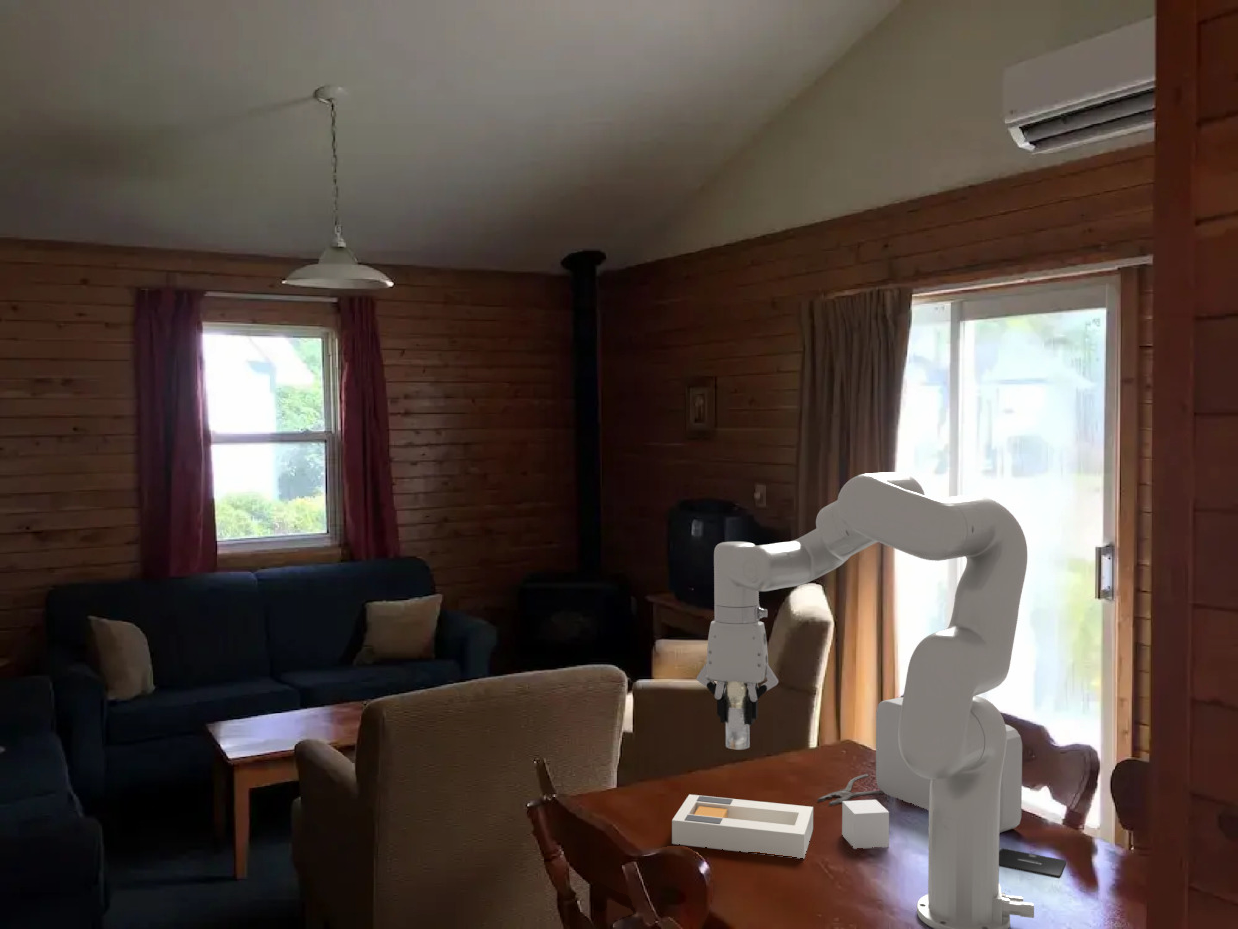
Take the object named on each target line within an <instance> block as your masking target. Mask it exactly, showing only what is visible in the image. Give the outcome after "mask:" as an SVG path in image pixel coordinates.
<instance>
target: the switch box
mask: <svg viewBox="0 0 1238 929" xmlns="http://www.w3.org/2000/svg"><path fill="white" fill-rule="evenodd" d="M699 806H705V807H714V808H724V809H728V813H727V818H720V817H711V816H702V815H694V814H695V812H696V811H697V809H698V807H699ZM813 830H814V806H809V805H808V806H807V805H806V806H805V805H797V804H789V803H788V804H787V803H777V802H769V801H758V800H748V799H739V798H738V799H736V798H729V797H720V796H719V797H718V796H717V797H716V796H710V795H709V796H708V795H701V794H700V795H698V794H691V793H690V794H688V796H686V799H685V800H684V801H683V803H682V805H681V806H680V808H679V809H678V811H677V812H676V813H675V815H674V817H673V818H672V820H671V844H673V845H679V844H680V845H679V846H688V847H697V848H705V847H707V849H715V850H722V849H723V850H724V851H732V852H739V851H741V852H742V853H748V852H760V853H767V854H775V855H783V856H792V857H797V858H796V859H800V858H803V859H802V860H805V857H806V855H805V854H807V852H808V848H809V844H810V842H809V841H811V838H812V835H813ZM806 851H807V852H806ZM783 856H782V857H783ZM792 857H791V858H792Z"/></svg>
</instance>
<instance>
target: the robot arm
mask: <svg viewBox="0 0 1238 929" xmlns="http://www.w3.org/2000/svg"><path fill="white" fill-rule="evenodd" d="M816 515H817V516H816V519H815V526H816V528H815V529H813V530H811V531H809V532H808V533H806V534H804V535H802V536H800V537H799V538H796V539H793V540H791V541H783V542H773V543H769V544H768V543H767V544H759V545H756V544H755V543H752V542H748V541H722V542H720V543H718V544H717V545H715V547H714V551H713V567H714V568H713V570H714V571H713V573H714V574H713V575H714V576H713V577H714V578H713V580H714V581H713V582H714V583H713V584H714V586H713V588H714V592H713V594H714V595H713V596H714V597H713V598H714V606H713V607H714V619H713V620H712V621H711V622H710V624H709V625H710V626H709V630H708V631H709V632H708V638H707V650H706V663H705V664H704V665H703V667H702V668H701V669H700V671H699V673H698V674H697V676H696V681H698V682H699V683H701V685H703V686H704V687H706V689H708V690H709V692H710V693H711V694H712V695H713V696H714V698H715V699H716V716H717V717H719V719H720V721H719V722H720V724H724V723H726V698H725V682H731V681H737V682H741V683H747V685H748V690H749V701H748V702H747V724H748V725H749V726H752V725H753V724H754V723H755V720H758V714H759V713H758V712H759V709H758V706H759V705H758V704H759V703H758V701H759V700H758V699H759V698H761V697H762V696H763V695H764V694H765V693H766V692H767V691H769V690H771V689H773V688H774V687H776V686H777V685H778V683H779V678H777V676H776V674H775V673H774V671H773V670H772V669H771V667H770V665H769V655H768V654H769V652H768V651H769V650H768V641H767V633H766V629H765V623H764V622H762V621H760V619H762V618H768V609H767V608H763V607H761V606H760V601H759V600H760V598H759V597H760V596H759V595H760V594H759V593H760V592H770V591H774V590H779V589H785V588H792V587H799V586H802V585H806V584H808V583H810V582H811V581H812V582H813V581H814V580H816V579H819V578H820V577H823V576H824V575H826V574H828V573H830V572H832V571H834V570H836V569H837V568H839V567H840V566H842V565H843V564H845V562H847V560H849V559H850V558H851V556H853V555H855V554H857V553H860V552H861V551H863V550H865V549H867V548H868V547H870V546H872V545H875V544H876V543H880V544H882V545H884V546H888V547H890V548H893V549H895V550H898V551H900V552H903V553H905V554H908V555H910V556H913V557H917V558H919V559H923V560H926V561H935V562H937V561H947V560H952V559H957V558H963V557H965V558H966V565H965V568H964V570H963V572H962V574H961V576H960V579H959V581H958V583H957V586H956V590H955V595H954V603H953V608H952V613H951V614H952V615H951V618H950V621H949V624H948V627H947V628H946V629H942V630H938V631H936V632H933V633H931V634H929V635H927V636H926V637H925V638H923V639H922V640H920V642H919V643H918V644H917V645H916V647H915V648H914V650H913V653H912V655H911V657H910V659H909V663H908V666H907V673H906V678H905V685H904V691H903V696H902V697H903V702H902V709H901V715H900V721H899V730H898V742H899V748H900V752H901V755H902V757H903V759H904V761H905V763H906V764H907V766H908V767H909V768H910V769H911V770H912V771H913V772H914V773H915V774H917V775H919V776H921V777H923V778H926V779H931V782H930V792H929V810H928V858H927V859H928V861H927V862H928V869H927V872H928V873H927V874H928V879H927V880H928V881H927V883H928V886H927V894H925V895H924V896H922V897H920V898H919V900H917V903H916V913H917V916H918V918H919V919H920V920H921V921H922V922H923V923H924V924H926V925H927V926H928V927H930V928H931V929H1009V928H1010V925H1011V915H1012V916H1018V917H1019V916H1020V917H1021V918H1030V919H1034V918H1035V906H1034V903H1033V902H1027V901H1026V902H1024V896H1020V895H1006V892H1002V889H1001V883H1000V882H999V880H1000V866H999V851H1000V833H999V819H1000V788H1001V776H1002V769H1003V763H1004V758H1005V752H1006V744H1007V732H1006V726H1005V724H1006V723H1005V720H1004V717H1003V716H1002V714H1001V712H1000V710H999V709H998V708H997V707H996V706H995V705H994V704H993V703H992V702H991V701H990V700H988V699H986V698H984V697H982V696H979V695H981V694H984V693H987V692H989V691H992V690H994V689H995V688H998V687H999V686H1000V685H1002V684H1003V682H1004V681H1005V680H1006V678H1007V677H1008V674H1009V669H1010V666H1011V660H1012V653H1013V648H1014V643H1015V637H1016V636H1015V635H1016V631H1017V624H1018V619H1019V618H1018V617H1019V610H1020V605H1021V598H1022V593H1023V588H1024V583H1025V578H1026V574H1027V573H1026V572H1027V565H1028V546H1027V540H1026V537H1025V533H1024V531H1023V529H1022V526H1021V525H1020V523H1019V521H1018V520H1017V519H1016V517H1015V516H1014V515H1013V513H1011V512H1010V511H1009V509H1007V508H1006V507H1005V506H1004V505H1002V504H1000V503H999V502H997V501H996V500H993V499H992V498H987V497H985V496H984V497H983V496H980V495H970V494H969V495H968V494H967V495H966V494H965V495H955V496H949V497H948V496H947V497H929V496H927V495H925V492H924V490H923V488H922V486H921V484H920V483H919V482H918V480H916V479H915V478H913V477H912V476H910V475H908V474H906V473H903V472H898V471H897V472H895V471H888V472H873V473H862V474H858V475H856V476H854V477H852V478H851V479H849V480H848V481H847V482H845V484H843V486H842V488H841V489H840V492H839V493H838V496H837V500H835V501H834V502H832V503H829V504H828V505H826V506H824V507H822V508H821V509H820V510H819V512H818V513H817V514H816ZM765 678H766V680H767V681H765ZM763 681H765V682H764V683H762V682H763ZM761 683H762V684H761ZM758 684H761V685H760V686H759V685H758Z"/></svg>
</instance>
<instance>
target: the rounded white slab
mask: <svg viewBox="0 0 1238 929" xmlns="http://www.w3.org/2000/svg"><path fill="white" fill-rule="evenodd" d="M902 702H903V696H902V697H896V698H891V699H886V700H882V701H880V703H878V704H877V709H876V713H875V714H876V715H875V720H876V721H875V722H876V723H875V726H876V728H875V780H876V785H877V786H878V788H879V791H883V792H884V793H885V795H886V794H887V796H888V797H889V796H890V797H893V798H894V797H895V799H897V798H898V799H897V800H900V801H902V800H903V801H902V802H904V803H905V802H906V803H908V804H910V803H912V804H911V805H913V804H914V805H913V806H916V805H917V806H916V807H918V806H919V808H921V809H923V808H924V809H923V810H926V809H928V810H927V811H929V792H930V782H931V779H926V778H923V777H921V776H919V775H917V774H915V773H914V772H913V771H912V770H911V769H910V768H909V767H908V766H907V764H906V763H905V761H904V759H903V757H902V755H901V752H900V748H899V742H898V730H899V721H900V715H901V709H902ZM1005 726H1006V732H1007V744H1006V752H1005V758H1004V763H1003V769H1002V776H1001V788H1000V819H999V834H1000V833H1003V832H1006V831H1010V830H1012V829H1016V828H1017V826H1019V825H1020V824H1021V819H1022V801H1023V800H1022V793H1023V792H1022V791H1023V787H1022V786H1023V781H1022V780H1023V742H1022V737H1021V734H1019V732H1018V730H1017V729H1016V728H1015V727H1013V726H1011V725H1009V724H1006V723H1005Z"/></svg>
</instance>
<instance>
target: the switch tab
mask: <svg viewBox="0 0 1238 929" xmlns="http://www.w3.org/2000/svg"><path fill="white" fill-rule="evenodd" d="M727 813H728V809H724V808H714V807H705V806H699V807H698V809H697V811H696V812H695V814H694V815H702V816H711V817H720V818H727Z"/></svg>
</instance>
